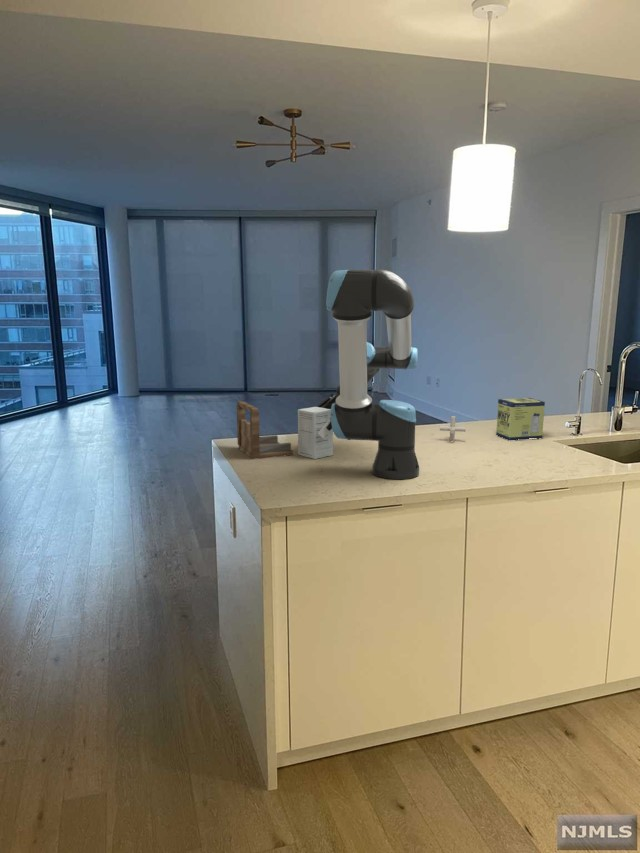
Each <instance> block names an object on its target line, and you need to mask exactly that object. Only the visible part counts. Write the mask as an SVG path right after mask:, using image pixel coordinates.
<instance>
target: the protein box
mask: <svg viewBox="0 0 640 853" xmlns="http://www.w3.org/2000/svg"><path fill="white" fill-rule="evenodd" d="M545 403H546V402H545V401H544V400H540V399H536V398H531V397H523V398H519V397H518V398H517V397H516V398H498V400H497V416H496V430H495V431H496V432H495V436H496V435H498V436H497V437H499V436H500V437H499V438H501V437H503V438H502V439H504V438H505V439H504V440H506V439H508V440H507V441H509V440H515V441H519V440H518V439H529V438H542V439H543V432H544V430H543V428H544V419H545V418H544V416H545V405H546V404H545Z"/></svg>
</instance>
